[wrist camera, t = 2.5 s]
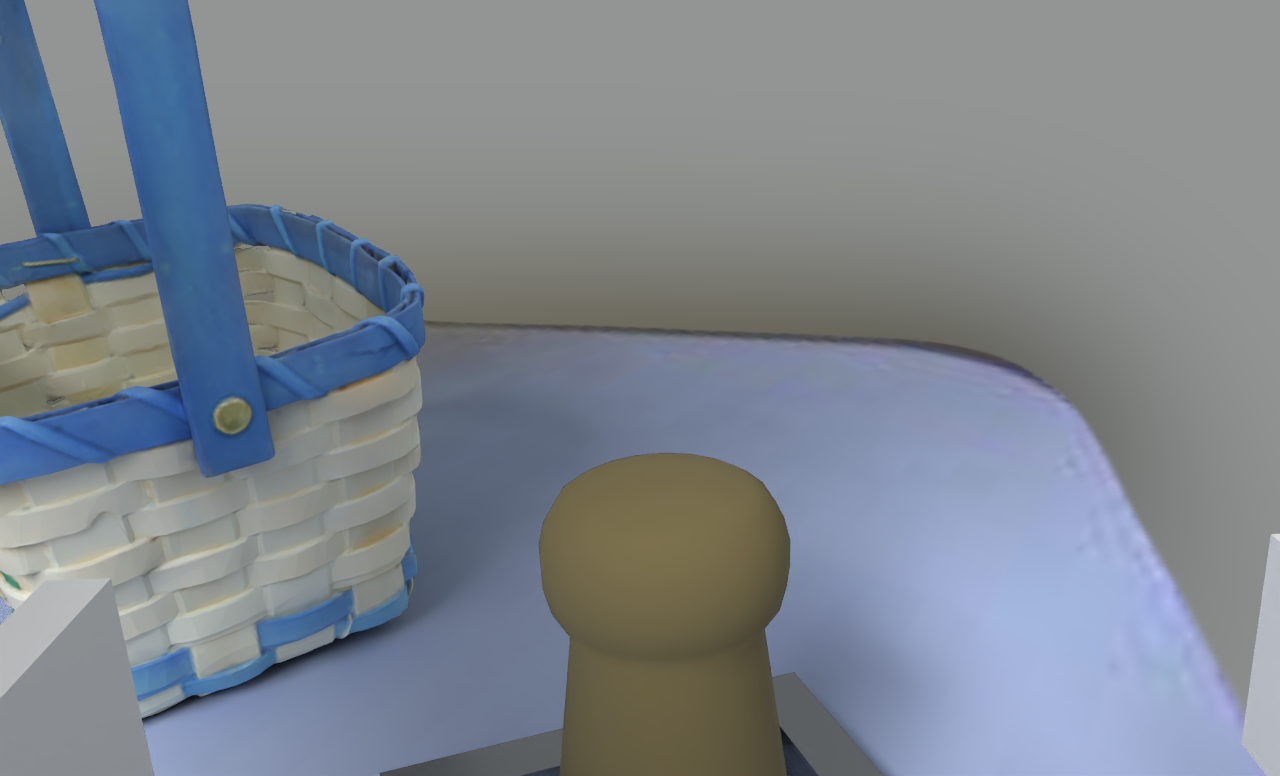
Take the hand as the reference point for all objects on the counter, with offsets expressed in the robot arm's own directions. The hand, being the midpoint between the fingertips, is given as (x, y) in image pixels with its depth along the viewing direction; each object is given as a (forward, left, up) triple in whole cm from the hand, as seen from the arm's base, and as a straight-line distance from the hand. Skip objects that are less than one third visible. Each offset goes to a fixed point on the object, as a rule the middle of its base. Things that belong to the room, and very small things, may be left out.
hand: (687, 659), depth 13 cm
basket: (-28, -8, -13) cm, 33 cm away
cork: (-9, +3, -13) cm, 17 cm away
